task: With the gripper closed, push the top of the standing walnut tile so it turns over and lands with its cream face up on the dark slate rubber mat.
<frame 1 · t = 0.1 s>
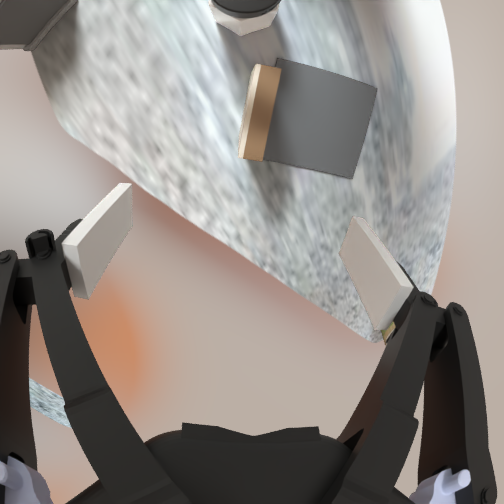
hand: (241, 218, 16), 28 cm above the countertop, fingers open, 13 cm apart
mat: (318, 119, 38), on the countertop
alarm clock: (37, 3, 20), on the countertop
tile: (253, 105, 37), on the countertop
jar: (244, 11, 28), on the countertop
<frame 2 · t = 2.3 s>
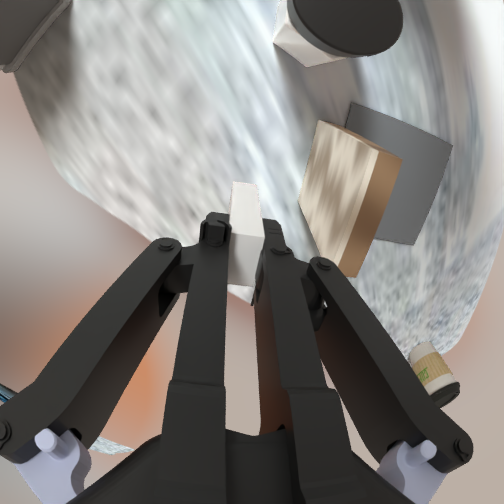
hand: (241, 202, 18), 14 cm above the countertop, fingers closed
mat: (390, 182, 31), on the countertop
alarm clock: (19, 7, 14), on the countertop
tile: (318, 163, 30), on the countertop
jar: (311, 31, 22), on the countertop
coffee cup: (420, 349, 53), on the countertop
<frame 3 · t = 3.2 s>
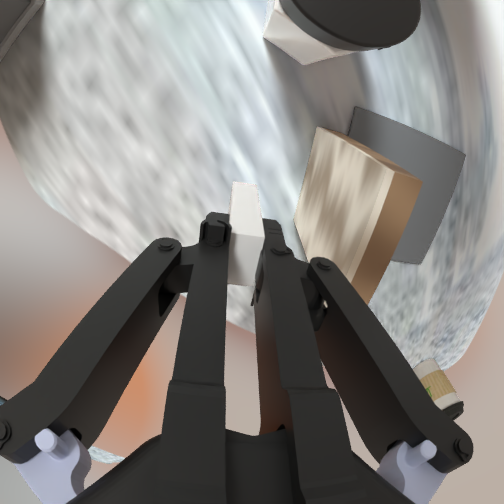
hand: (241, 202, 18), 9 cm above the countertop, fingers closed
mat: (397, 197, 28), on the countertop
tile: (316, 177, 27), on the countertop
jar: (308, 24, 18), on the countertop
coffee cup: (422, 366, 50), on the countertop
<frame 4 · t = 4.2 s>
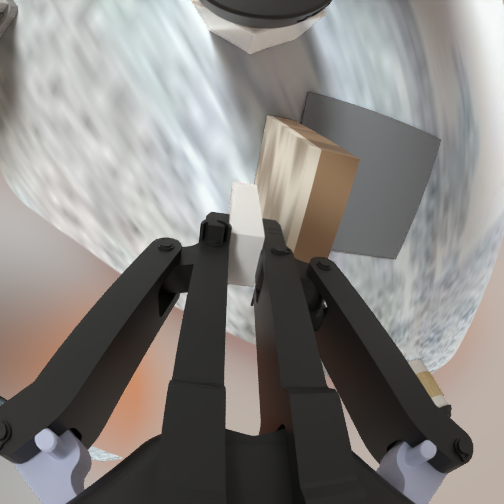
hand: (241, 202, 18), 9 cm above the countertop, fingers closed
mat: (363, 186, 27), on the countertop
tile: (270, 167, 26), on the countertop, touching gripper
jar: (255, 12, 18), on the countertop
coffee cup: (409, 367, 49), on the countertop
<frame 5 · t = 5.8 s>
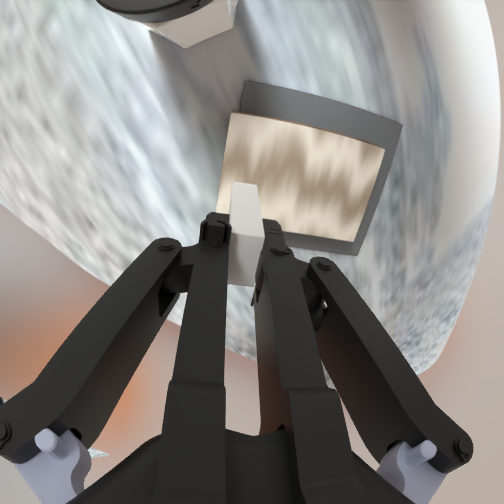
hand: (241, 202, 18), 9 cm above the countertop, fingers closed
mat: (312, 176, 27), on the countertop
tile: (222, 165, 24), point 2 cm above the countertop, tilted 90°, touching mat
jar: (192, 7, 17), on the countertop
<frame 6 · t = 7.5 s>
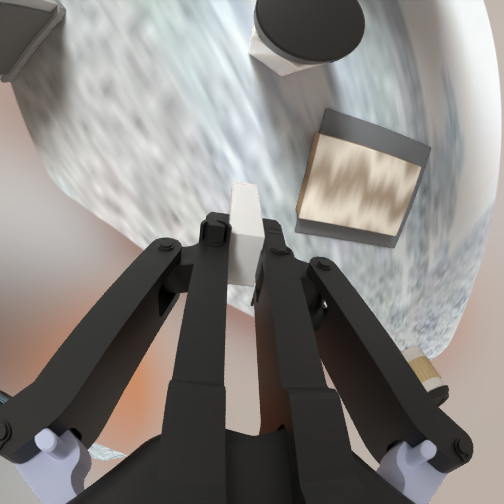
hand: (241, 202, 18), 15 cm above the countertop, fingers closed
mat: (367, 185, 33), on the countertop
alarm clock: (17, 19, 16), on the countertop
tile: (307, 174, 31), point 2 cm above the countertop, tilted 90°, touching mat
jar: (286, 41, 24), on the countertop
coffee cup: (408, 353, 54), on the countertop
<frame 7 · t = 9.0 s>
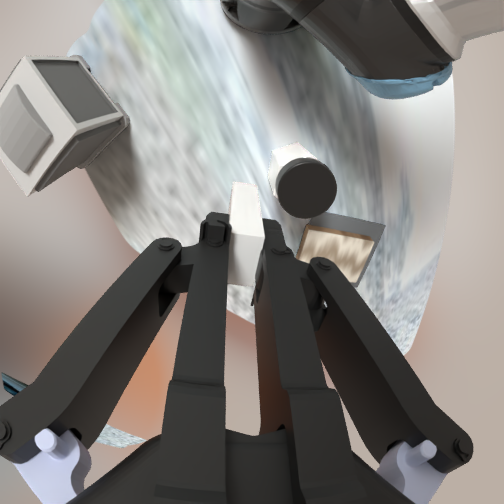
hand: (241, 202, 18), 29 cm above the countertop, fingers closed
mat: (338, 252, 55), on the countertop
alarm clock: (79, 110, 37), on the countertop
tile: (300, 250, 53), point 2 cm above the countertop, tilted 90°, touching mat
jar: (292, 166, 46), on the countertop
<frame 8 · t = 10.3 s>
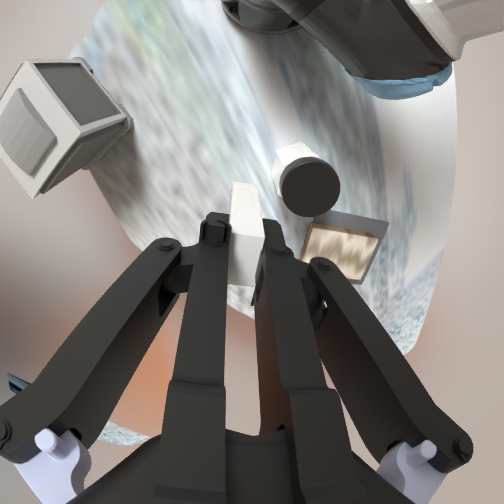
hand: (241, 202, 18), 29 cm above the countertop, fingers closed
mat: (342, 249, 56), on the countertop
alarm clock: (82, 112, 38), on the countertop
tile: (304, 248, 53), point 2 cm above the countertop, tilted 90°, touching mat
jar: (295, 165, 46), on the countertop
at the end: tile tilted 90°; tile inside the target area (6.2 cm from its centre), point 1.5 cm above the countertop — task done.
